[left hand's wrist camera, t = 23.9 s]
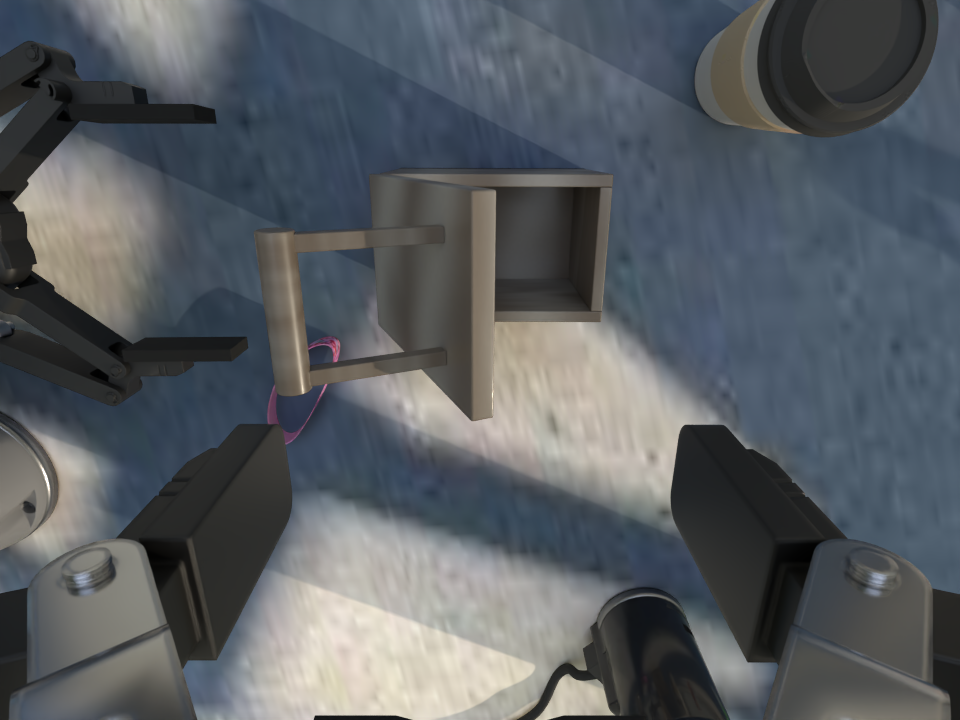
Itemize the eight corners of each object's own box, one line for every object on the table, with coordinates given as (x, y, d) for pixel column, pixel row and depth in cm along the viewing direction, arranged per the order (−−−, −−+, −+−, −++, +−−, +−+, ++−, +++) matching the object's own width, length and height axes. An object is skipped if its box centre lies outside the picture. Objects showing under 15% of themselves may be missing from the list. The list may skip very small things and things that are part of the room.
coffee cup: (756, -27, 39) (910, -125, 25) (826, 76, 41) (1003, 38, 27) (654, 74, 41) (744, 35, 27) (726, 166, 44) (842, 173, 30)
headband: (306, 322, 48) (298, 330, 46) (347, 342, 49) (342, 351, 47) (260, 421, 52) (252, 432, 50) (300, 438, 52) (293, 450, 50)
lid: (497, 189, 21) (254, 196, 17) (493, 417, 24) (289, 459, 21) (385, 173, 34) (234, 175, 30) (393, 323, 37) (258, 339, 34)
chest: (583, 168, 44) (613, 174, 34) (575, 285, 47) (601, 322, 37) (401, 167, 44) (378, 173, 34) (406, 285, 47) (387, 321, 37)
